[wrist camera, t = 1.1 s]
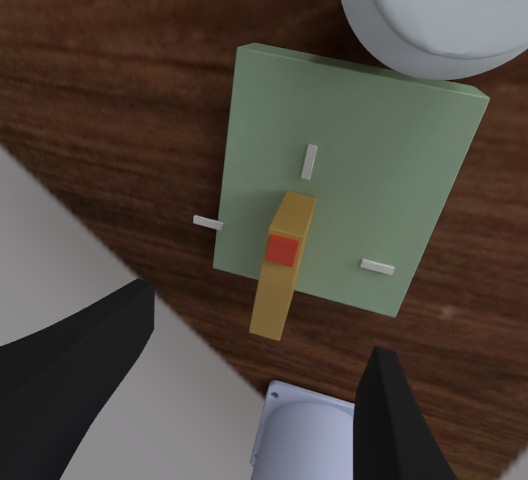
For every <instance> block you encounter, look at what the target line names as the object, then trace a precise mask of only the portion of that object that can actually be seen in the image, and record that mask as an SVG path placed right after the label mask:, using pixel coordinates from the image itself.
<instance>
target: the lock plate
mask: <svg viewBox="0 0 528 480" xmlns="http://www.w3.org/2000/svg"><path fill="white" fill-rule="evenodd" d="M489 100H490V98H489V97H488V96H486V95H485V94H484V93H482V92H481V91H479V90H478V89H477V88H475V87H474V86H469V85H464V84H459V83H454V82H449V81H444V80H427V79H421V78H415V77H411V76H408V75H405V74H402V73H400V72H397V71H394V70H389V69H384V68H379V67H374V66H369V65H364V64H359V63H354V62H349V61H344V60H339V59H334V58H329V57H324V56H319V55H314V54H309V53H304V52H299V51H294V50H289V49H284V48H279V47H274V46H269V45H264V44H259V43H252V44H248V45H244V46H240V47H237V52H236V61H235V70H234V79H233V88H232V97H231V107H230V116H229V125H228V134H227V143H226V152H225V161H224V170H223V179H222V188H221V197H220V206H219V215H218V221H215V220H211V219H208V218H204V217H200V216H196V215H195V216H194V220H193V223H194V224H198V225H202V226H206V227H210V228H214V229H217V234H216V243H215V252H214V261H213V268H216V269H219V270H223V271H227V272H230V273H234V274H238V275H241V276H245V277H249V278H252V279H256V280H259V275H260V270H261V264H262V259H263V254H264V248H265V243H266V238H267V232H268V228H269V226H270V224H271V222H272V220H273V218H274V216H275V214H276V212H277V210H278V208H279V206H280V203H281V201H282V199H283V197H284V195H285V193H286V191H291V192H295V193H299V194H303V195H307V196H311V197H316V198H317V200H316V204H315V208H314V212H313V216H312V220H311V224H310V228H309V232H308V236H307V240H306V244H305V248H304V252H303V256H302V261H301V265H300V269H299V273H298V277H297V281H296V285H295V289H294V290H296V291H300V292H303V293H307V294H311V295H314V296H318V297H321V298H325V299H329V300H332V301H336V302H340V303H343V304H347V305H351V306H354V307H358V308H362V309H365V310H369V311H373V312H376V313H380V314H383V315H387V316H391V317H396V314H397V312H398V310H399V308H400V305H401V303H402V301H403V298H404V296H405V294H406V291H407V289H408V287H409V284H410V282H411V280H412V278H413V275H414V273H415V271H416V268H417V266H418V264H419V261H420V259H421V257H422V254H423V252H424V250H425V248H426V245H427V243H428V241H429V238H430V236H431V234H432V231H433V229H434V227H435V224H436V222H437V220H438V218H439V215H440V213H441V211H442V208H443V206H444V204H445V201H446V199H447V197H448V194H449V192H450V190H451V188H452V185H453V183H454V181H455V178H456V176H457V174H458V171H459V169H460V167H461V165H462V162H463V160H464V158H465V155H466V153H467V151H468V148H469V146H470V144H471V141H472V139H473V137H474V135H475V132H476V130H477V128H478V125H479V123H480V121H481V118H482V116H483V114H484V111H485V109H486V107H487V105H488V102H489Z"/></svg>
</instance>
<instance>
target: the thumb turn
mask: <svg viewBox="0 0 528 480" xmlns="http://www.w3.org/2000/svg"><path fill="white" fill-rule="evenodd" d="M316 200H317V198H316V197H311V196H307V195H303V194H299V193H295V192H291V191H286V193H285V195H284V197H283V199H282V201H281V203H280V206H279V208H278V210H277V212H276V214H275V216H274V218H273V220H272V222H271V224H270V226H269V228H268V232H267V238H266V243H265V248H264V254H263V259H262V264H261V270H260V275H259V281H258V286H257V291H256V297H255V302H254V307H253V313H252V318H251V323H250V329H249V332H250V333H253V334H257V335H260V336H263V337H267V338H270V339H274V340H277V341H279V340H280V337H281V334H282V330H283V327H284V324H285V320H286V317H287V313H288V310H289V306H290V303H291V299H292V296H293V293H294V289H295V285H296V281H297V277H298V273H299V269H300V265H301V261H302V256H303V252H304V248H305V244H306V240H307V236H308V232H309V228H310V224H311V220H312V216H313V212H314V208H315V204H316Z"/></svg>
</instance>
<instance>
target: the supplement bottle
mask: <svg viewBox="0 0 528 480" xmlns="http://www.w3.org/2000/svg"><path fill="white" fill-rule="evenodd" d="M341 2H342V6H343V9H344V12H345V15H346V17H347V20H348V22H349V24H350V26H351V28H352V30H353V31H354V33H355V34H356V36H357V38H358V39H359V41H360V42H361V43H362V45H363V46H364V47H365V48H366V49H367V50H368V51H369V52H370V53H371V54H372V55H373V56H374V57H375V58H376V59H378V60H379V61H380V62H382V63H383V64H384V65H386V66H388V67H390V68H391V69H393V70H395V71H397V72H400V73H402V74H405V75H408V76H411V77H415V78H421V79H427V80H452V79H460V78H465V77H469V76H473V75H477V74H480V73H483V72H486V71H488V70H491V69H493V68H495V67H498V66H500V65H502V64H504V63H506V62H507V61H509V60H511V59H513V58H514V57H516V56H517V55H519V54H520V53H522V52H523V51H525V50H526V49H528V0H341Z"/></svg>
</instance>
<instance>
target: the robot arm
mask: <svg viewBox="0 0 528 480" xmlns="http://www.w3.org/2000/svg"><path fill="white" fill-rule="evenodd" d="M154 301H155V283H152V282H148V281H145V280H141V279H136V280H134V281H132V282H130V283H129V284H127V285H125V286H123V287H122V288H120V289H118V290H116V291H115V292H113V293H111V294H109V295H108V296H106V297H104V298H103V299H101V300H99V301H97V302H95V303H94V304H92V305H90V306H88V307H87V308H84V309H83V310H81V311H79V312H77V313H75V314H74V315H71V316H69V317H67V318H65V319H63V320H61V321H59V322H57V323H55V324H53V325H51V326H49V327H47V328H45V329H43V330H40V331H38V332H36V333H33V334H31V335H29V336H26V337H24V338H21V339H19V340H16V341H14V342H11V343H9V344H6V345H3V346H0V480H60V478H61V476H62V474H63V472H64V470H65V469H66V467H67V465H68V464H69V462H70V460H71V458H72V456H73V454H74V453H75V451H76V449H77V447H78V446H79V444H80V442H81V441H82V439H83V437H84V436H85V434H86V432H87V431H88V429H89V427H90V425H91V424H92V423H93V421H94V419H95V418H96V417H97V415H98V413H99V412H100V411H101V409H102V408H103V407H104V405H105V404H106V402H107V401H108V400H109V398H110V397H111V395H112V394H113V393H114V391H115V390H116V388H117V387H118V386H119V384H120V383H121V382H122V380H123V379H124V377H125V376H126V375H127V373H128V372H129V370H130V369H131V368H132V366H133V365H134V363H135V362H136V360H137V359H138V358H139V356H140V354H141V353H142V351H143V349H144V347H145V345H146V344H147V341H148V340H149V338H150V336H151V334H152V332H153V330H154ZM250 462H251V464H252V466H254V469H253V473H252V477H251V480H458V479H457V477H456V475H455V474H454V472H453V471H452V469H451V467H450V465H449V464H448V462H447V460H446V459H445V457H444V455H443V453H442V452H441V450H440V448H439V446H438V444H437V442H436V440H435V439H434V437H433V435H432V433H431V431H430V429H429V427H428V425H427V423H426V421H425V419H424V417H423V415H422V413H421V410H420V408H419V406H418V404H417V402H416V400H415V397H414V395H413V393H412V391H411V388H410V386H409V384H408V381H407V379H406V376H405V374H404V371H403V369H402V366H401V364H400V361H399V358H398V356H397V354H396V352H395V351H391V350H388V349H384V348H381V347H377V346H375V347H374V349H373V352H372V354H371V357H370V359H369V361H368V364H367V366H366V369H365V371H364V373H363V376H362V378H361V380H360V383H359V385H358V388H357V390H356V398H355V404H353V403H350V402H346V401H343V400H340V399H337V398H333V397H330V396H327V395H323V394H320V393H317V392H313V391H310V390H307V389H304V388H300V387H297V386H294V385H290V384H287V383H284V382H281V381H277V380H274V381H271V382H270V384H269V387H268V391H267V395H266V399H265V404H264V408H263V412H262V416H261V420H260V424H259V428H258V432H257V436H256V440H255V444H254V448H253V453H252V456H251V461H250Z"/></svg>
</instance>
